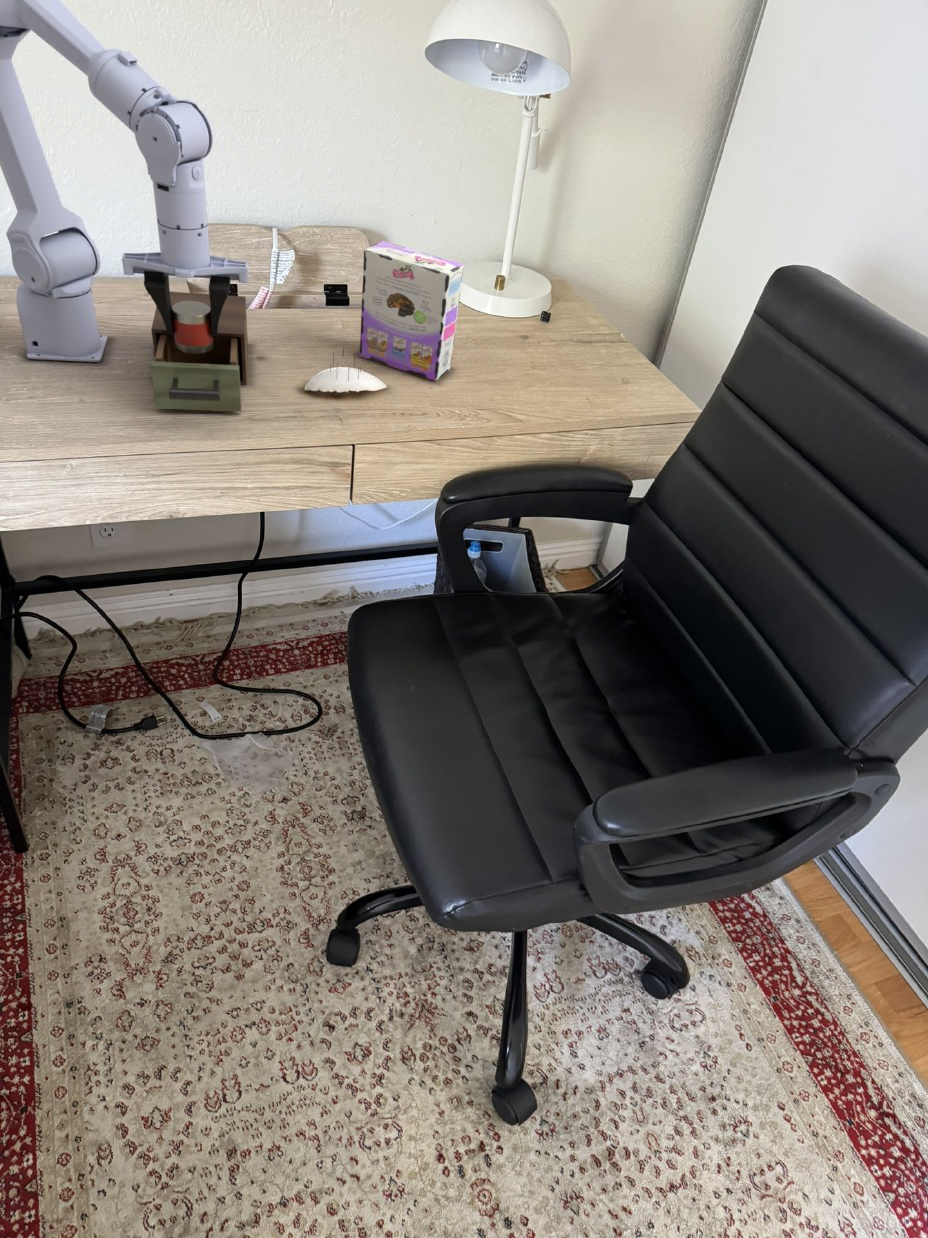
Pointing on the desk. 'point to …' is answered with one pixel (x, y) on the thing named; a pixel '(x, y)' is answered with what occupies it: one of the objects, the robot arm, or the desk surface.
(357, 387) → the pincushion
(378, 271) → the candy box
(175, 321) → the can
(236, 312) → the cabinet
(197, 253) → the robot arm
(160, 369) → the drawer
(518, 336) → the desk surface
